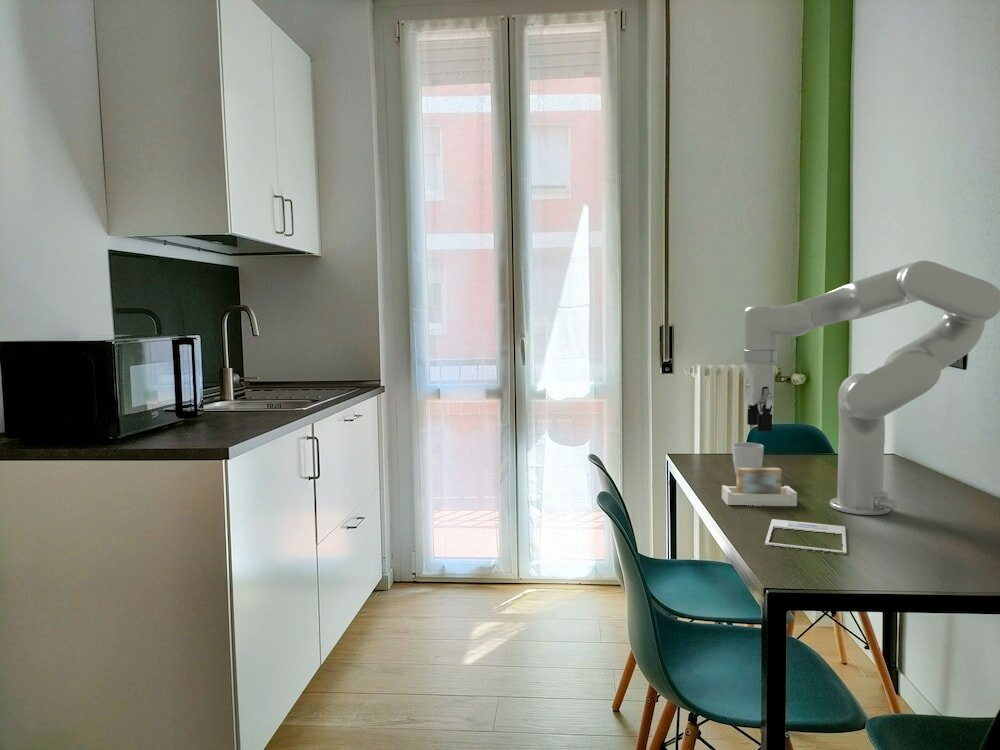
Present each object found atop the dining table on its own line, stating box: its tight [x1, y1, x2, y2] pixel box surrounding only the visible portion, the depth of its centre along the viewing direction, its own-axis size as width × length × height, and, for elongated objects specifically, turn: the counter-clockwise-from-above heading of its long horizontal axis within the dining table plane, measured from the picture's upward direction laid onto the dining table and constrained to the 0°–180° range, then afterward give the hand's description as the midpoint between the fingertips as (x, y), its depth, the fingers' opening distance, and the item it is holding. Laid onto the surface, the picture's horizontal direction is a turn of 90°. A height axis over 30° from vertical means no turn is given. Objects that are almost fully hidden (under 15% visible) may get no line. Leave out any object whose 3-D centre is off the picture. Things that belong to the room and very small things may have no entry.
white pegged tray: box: [721, 484, 798, 507], centre depth 173 cm, size 16×7×3 cm, turn 84°
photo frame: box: [764, 518, 848, 554], centre depth 146 cm, size 15×1×18 cm
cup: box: [732, 442, 765, 474], centre depth 194 cm, size 8×8×10 cm
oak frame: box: [735, 467, 782, 494], centre depth 173 cm, size 10×2×7 cm, turn 85°
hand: (759, 427), depth 171 cm, fingers open, 9 cm apart
